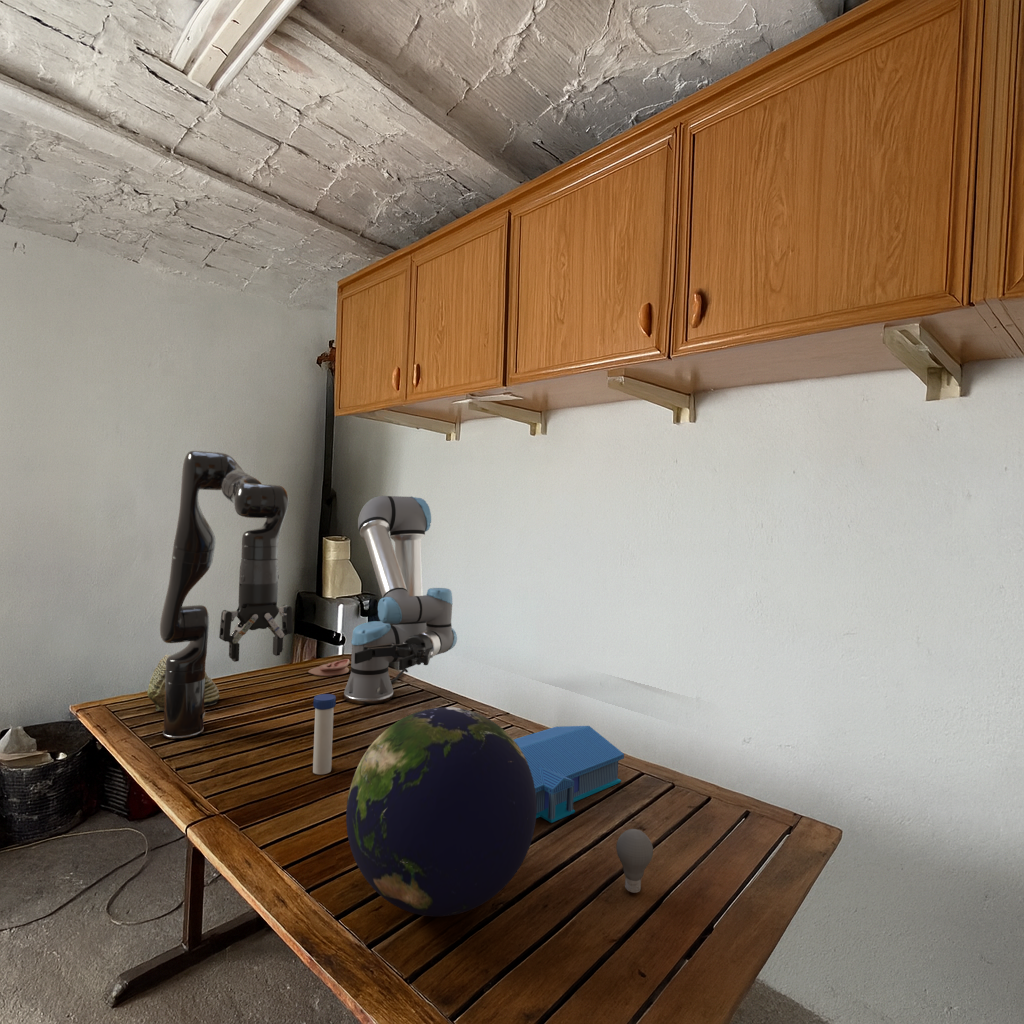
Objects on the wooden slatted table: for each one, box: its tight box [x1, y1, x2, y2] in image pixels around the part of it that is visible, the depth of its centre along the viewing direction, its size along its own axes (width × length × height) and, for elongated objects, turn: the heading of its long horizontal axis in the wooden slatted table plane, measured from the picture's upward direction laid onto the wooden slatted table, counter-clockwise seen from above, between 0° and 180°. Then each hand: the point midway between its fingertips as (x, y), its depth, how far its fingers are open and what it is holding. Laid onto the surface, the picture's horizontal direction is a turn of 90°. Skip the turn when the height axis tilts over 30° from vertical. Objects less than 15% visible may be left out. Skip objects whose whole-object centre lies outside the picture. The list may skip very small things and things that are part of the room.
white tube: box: [312, 707, 335, 776], centre depth 146 cm, size 4×4×17 cm
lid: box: [312, 693, 337, 709], centre depth 146 cm, size 5×5×2 cm
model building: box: [513, 725, 625, 824], centre depth 140 cm, size 39×24×10 cm, turn 132°
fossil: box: [147, 654, 221, 712], centre depth 185 cm, size 9×18×15 cm, turn 132°
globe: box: [345, 706, 537, 918], centre depth 101 cm, size 30×30×30 cm
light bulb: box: [615, 828, 654, 894], centre depth 106 cm, size 6×6×10 cm
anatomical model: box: [308, 658, 351, 677], centre depth 227 cm, size 13×4×12 cm
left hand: (256, 657), depth 132 cm, fingers open, 8 cm apart
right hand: (377, 661), depth 161 cm, fingers open, 13 cm apart
